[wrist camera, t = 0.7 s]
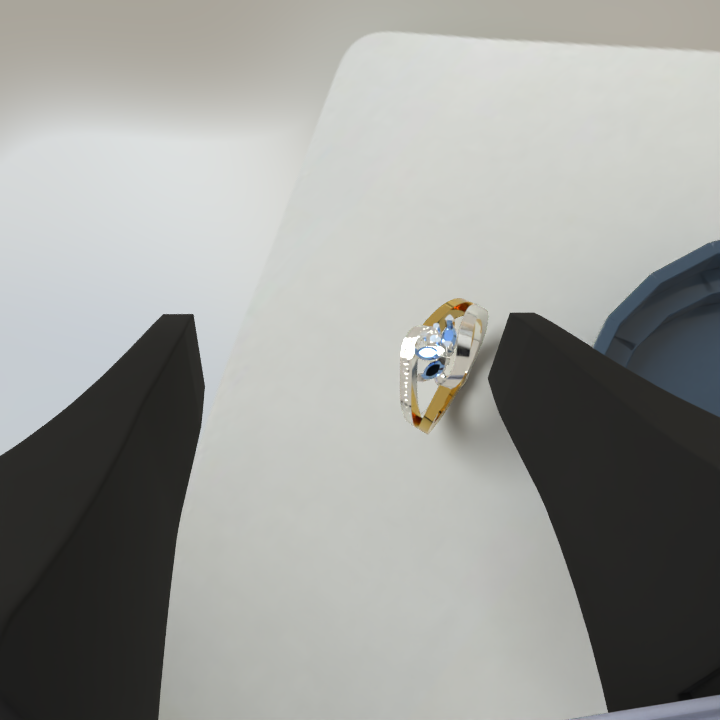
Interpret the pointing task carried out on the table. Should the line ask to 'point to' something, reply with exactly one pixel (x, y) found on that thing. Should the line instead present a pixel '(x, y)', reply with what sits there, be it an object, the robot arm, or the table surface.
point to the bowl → (672, 329)
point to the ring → (440, 358)
